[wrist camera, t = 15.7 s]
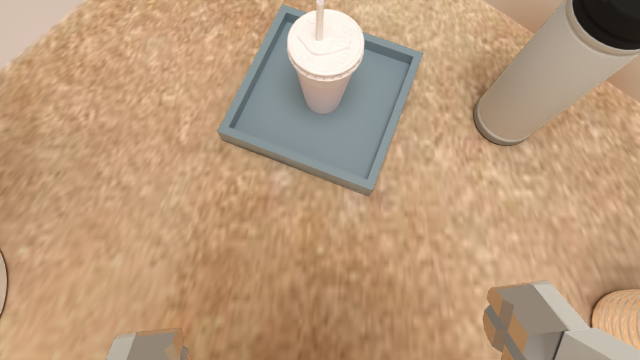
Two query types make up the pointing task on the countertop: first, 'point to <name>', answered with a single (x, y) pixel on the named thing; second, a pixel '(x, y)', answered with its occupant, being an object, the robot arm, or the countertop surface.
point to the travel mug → (559, 67)
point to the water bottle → (619, 316)
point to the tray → (322, 129)
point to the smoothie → (324, 55)
